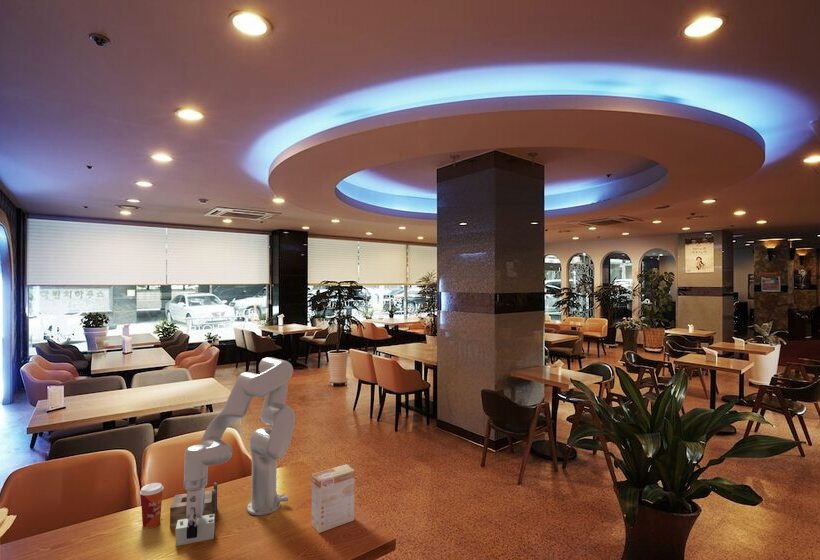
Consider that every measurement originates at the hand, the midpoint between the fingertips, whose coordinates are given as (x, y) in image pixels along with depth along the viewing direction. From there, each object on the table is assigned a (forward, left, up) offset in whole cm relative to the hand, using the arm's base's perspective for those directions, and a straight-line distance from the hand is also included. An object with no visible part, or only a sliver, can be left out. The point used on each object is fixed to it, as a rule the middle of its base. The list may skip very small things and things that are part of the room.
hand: (194, 530), depth 155 cm
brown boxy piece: (+2, -15, -3) cm, 16 cm away
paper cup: (+16, -14, -3) cm, 22 cm away
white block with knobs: (0, 0, -3) cm, 3 cm away
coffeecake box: (-48, +5, -3) cm, 49 cm away
